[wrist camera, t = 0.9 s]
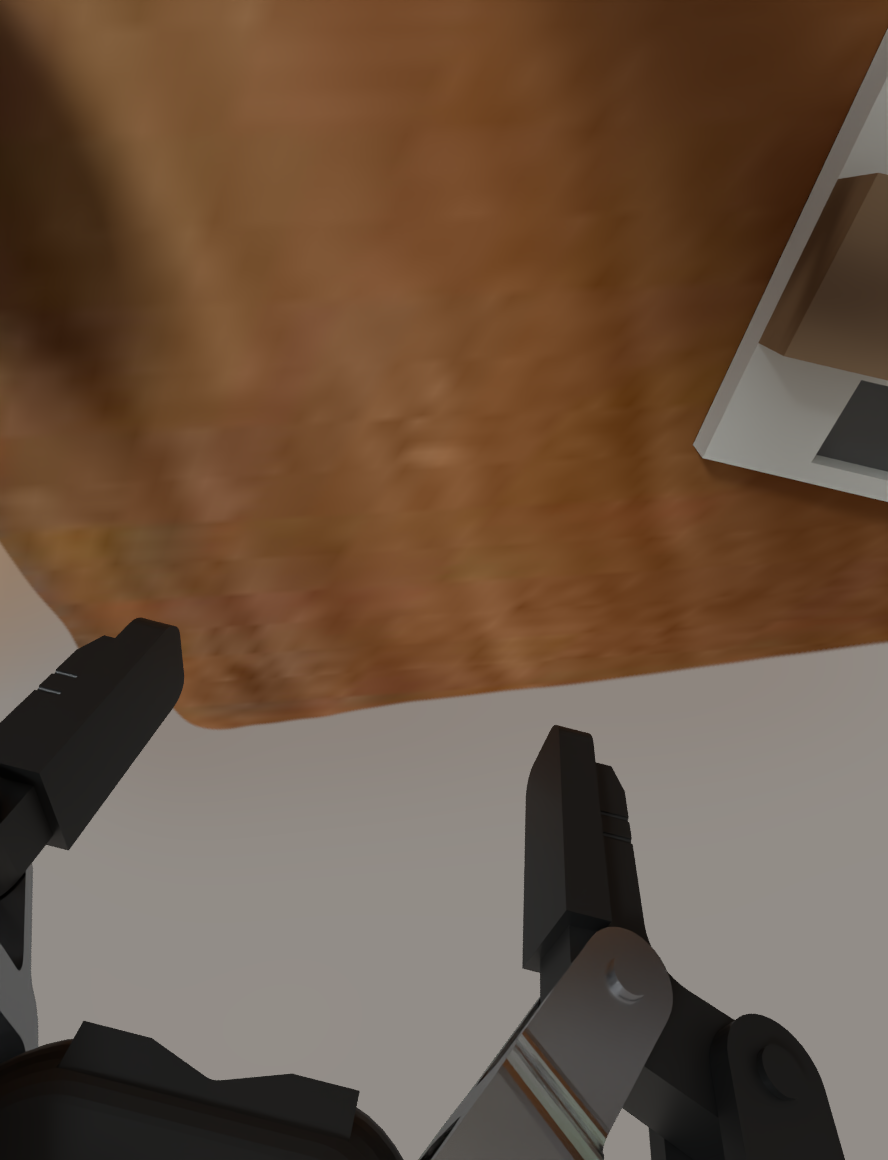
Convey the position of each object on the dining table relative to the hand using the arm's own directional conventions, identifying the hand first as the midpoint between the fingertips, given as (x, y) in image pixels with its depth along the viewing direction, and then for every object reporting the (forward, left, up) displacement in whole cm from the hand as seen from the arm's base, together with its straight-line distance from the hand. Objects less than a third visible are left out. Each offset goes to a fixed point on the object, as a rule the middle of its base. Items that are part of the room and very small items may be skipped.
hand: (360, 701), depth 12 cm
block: (-9, +15, -20) cm, 27 cm away
